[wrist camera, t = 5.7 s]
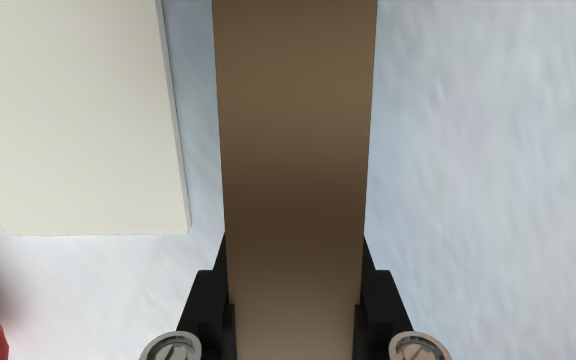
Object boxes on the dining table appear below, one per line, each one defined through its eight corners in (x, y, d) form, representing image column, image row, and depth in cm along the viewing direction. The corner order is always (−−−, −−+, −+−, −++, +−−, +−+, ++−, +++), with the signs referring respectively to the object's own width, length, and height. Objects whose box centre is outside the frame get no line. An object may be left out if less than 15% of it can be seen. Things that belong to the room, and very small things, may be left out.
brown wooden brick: (377, 387, 15) (416, 531, 10) (210, 386, 15) (173, 529, 11) (421, -171, 10) (543, -399, 5) (165, -168, 10) (49, -390, 5)
